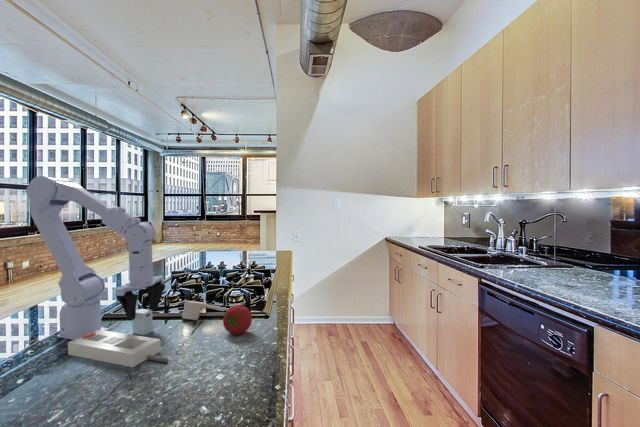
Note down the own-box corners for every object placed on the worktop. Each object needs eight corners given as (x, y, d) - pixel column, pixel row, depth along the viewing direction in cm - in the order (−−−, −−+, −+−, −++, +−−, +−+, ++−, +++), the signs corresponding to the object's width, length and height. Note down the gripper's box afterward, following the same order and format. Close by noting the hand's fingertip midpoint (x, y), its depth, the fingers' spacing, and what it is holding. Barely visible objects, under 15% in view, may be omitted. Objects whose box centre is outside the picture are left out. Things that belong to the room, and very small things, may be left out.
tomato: (243, 297, 94) (229, 300, 87) (261, 317, 92) (248, 321, 85) (226, 318, 95) (211, 322, 88) (244, 338, 92) (229, 344, 85)
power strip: (68, 354, 78) (67, 339, 78) (100, 340, 86) (99, 327, 85) (154, 371, 70) (153, 355, 70) (180, 354, 78) (180, 340, 77)
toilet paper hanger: (246, 308, 109) (211, 306, 95) (243, 324, 108) (207, 324, 94) (203, 300, 118) (165, 297, 105) (200, 314, 117) (161, 312, 104)
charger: (132, 333, 90) (132, 312, 90) (141, 329, 93) (141, 308, 93) (144, 335, 89) (143, 313, 89) (152, 330, 92) (152, 310, 92)
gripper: (129, 272, 82) (131, 325, 83) (171, 261, 96) (173, 307, 97) (108, 270, 85) (110, 322, 85) (153, 260, 98) (154, 305, 99)
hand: (142, 314), depth 91 cm, fingers open, 7 cm apart
